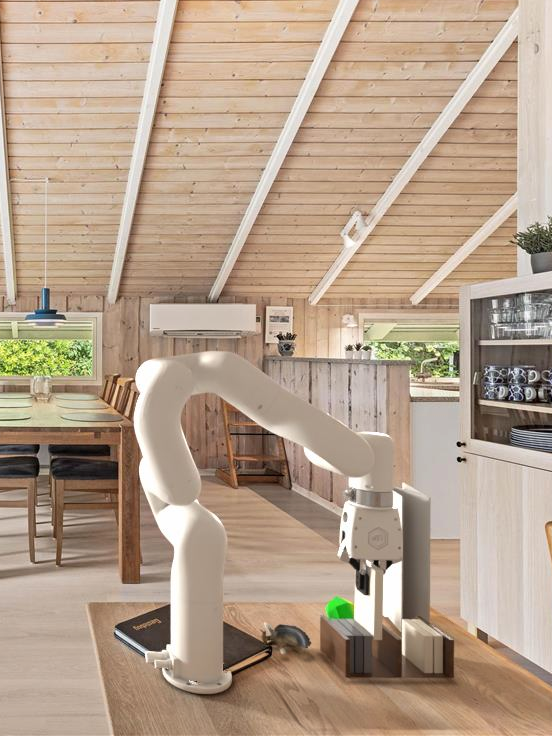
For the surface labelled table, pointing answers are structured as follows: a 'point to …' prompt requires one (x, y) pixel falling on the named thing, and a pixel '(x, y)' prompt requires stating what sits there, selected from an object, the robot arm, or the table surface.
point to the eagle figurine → (286, 638)
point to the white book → (371, 603)
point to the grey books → (357, 645)
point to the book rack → (381, 654)
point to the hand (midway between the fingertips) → (368, 592)
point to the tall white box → (410, 560)
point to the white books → (422, 646)
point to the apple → (340, 609)
